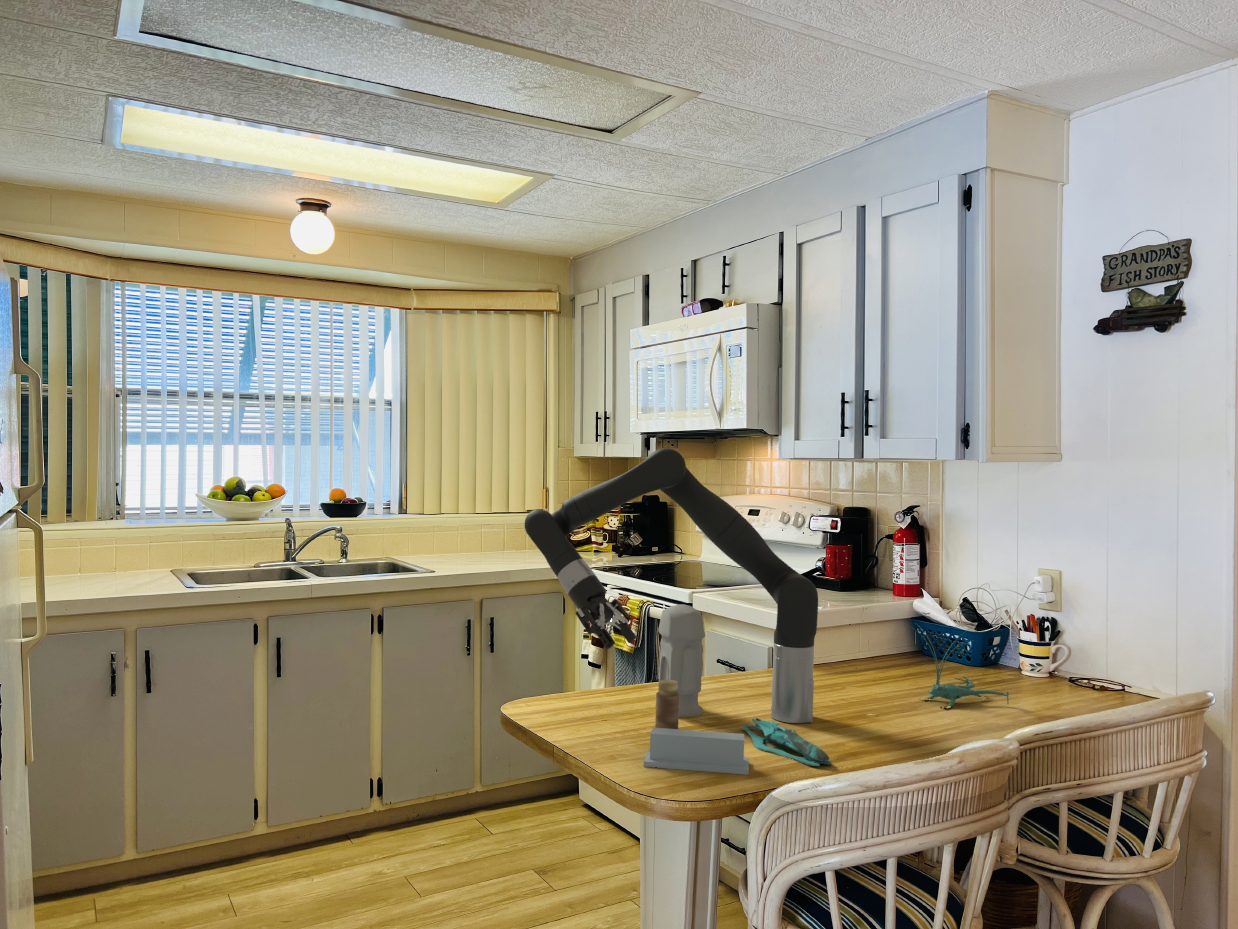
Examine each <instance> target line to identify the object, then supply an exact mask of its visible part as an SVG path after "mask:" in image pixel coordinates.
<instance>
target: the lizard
mask: <svg viewBox="0 0 1238 929" xmlns="http://www.w3.org/2000/svg"><path fill="white" fill-rule="evenodd" d="M914 624H915V625H917V623H916V622H914ZM918 627H919V628H920V629H921V630H922V631H924V629H923V628H922V627H921V626H920V625H918ZM910 628H911V629H913V630H915V628H913V627H912V626H910ZM972 628H974V627H973V626H972V627H971V628H969V630H971V629H972ZM916 632H917V633H918V634H920V632H919V631H917V630H916ZM966 632H967V630H964V633H966ZM924 634H925V635H926V637H927V640H928V641H929V642H930V644H931V646H932V648H931V646H930V644H929V642H928V641H927V640H926V638H924V636H923V635H922V634H920V636H921V637H923V639H924V640H925V642H926V643H927V645H928V647H929V648H930V650H931V654H932V656H933V658H934V662H935V668H936V681H935V683H933V684H932V688H931V689H930V690H929V691H928V693H929V694H930V696H928V697H927V698H928V699H932V700H934V699H936V698H942V699H944V700H945V699H946V700H949V702H948V704H947V705H946V706H953V707H954V705H955V702H956V700H959V699H961V698H963V697H968V696H974V697H978V698H979V697H982V696H981V695H985V694H987V695H989V694H990V695H998V696H1005V697H1006V702H1007V705H1009V703H1010V702H1009V691H1006V693H1005V692H1003V691H1002V692H1001V691H996V690H986V689H985V690H984V689H981V690H980V689H975V690H974V688H975V687H976V685H975V683H974V682H973V681H972V680H970V679H969V678H967V677H965V676H964V675H962V678H963V679H962V678H957V677H954V680H958V681H962V682H961V683H959V684H954V683H953V684H952V683H947V684H946V683H944V684H940V682H941V681H940V680H941V674H942V671H943V668H944V666H945V663H946V661H947V660H948V658H949V656H950V655H951V653H952V652H953V651H954V650H955V649H956V648H957V647H958V646H959V647H960V645H962V644H963V642H962V643H960V644H958V645H957V646H955V647H954V648H953V649H952V650H951V651H950V652H949V650H950V649H951V647H952V645H953V644H954V643H955V642H956V640H957V639H959V638H960V637H961V635H963V633H961V634H960V635H958V637H956V638H955V640H954V641H953V642H952V644H951V645H950V647H949V648H948V649H947V651H946V653H945V655H944V656H943V658H942V660H941V663H940V665H939V662H938V659H937V658H938V657H937V655H936V654H937V653H936V651H935V648H934V645H933V643H932V641H931V640H930V639H931V638H929V635H927V633H926V632H924ZM971 641H973V642H974V641H975V640H974V639H973V640H971ZM967 642H968V640H967V641H965V643H967ZM948 652H949V654H947V653H948ZM945 657H946V658H945ZM944 659H945V660H944ZM965 684H966V685H965ZM987 695H985V696H984V697H988V696H987Z"/></svg>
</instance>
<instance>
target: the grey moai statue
mask: <svg viewBox="0 0 1238 929" xmlns="http://www.w3.org/2000/svg"><path fill="white" fill-rule="evenodd" d="M657 631H658V634H659V635H661V639H660V644H659V646H660V652H659V653H660V654H659V669H658V682H659V681H660V680H674V681H677V682H678V691H677V693H679V718H686V717H687V718H689V717H698V716H700V715H702V714H703V712H704V709H703V707H702V706H701V705H699V694H700V692H701V691H702V674H703V670H704V669H703V668H704V661H703V654H704V646H703V644H702V640H703V639H704V638H705V637H706V632H705V629H704V619H703V615H702V614H701V613H700V612H699V610H698V609H696V608H694V607H693V606H691V605H689V604H688V605H687V604H675V605H674V604H673V605H671V606H669V607H667V608H665V609H663V610H662V611H661V616H660V620H659V626H658V630H657Z"/></svg>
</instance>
